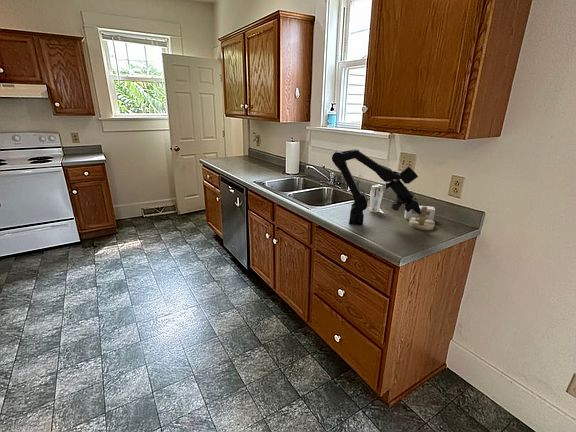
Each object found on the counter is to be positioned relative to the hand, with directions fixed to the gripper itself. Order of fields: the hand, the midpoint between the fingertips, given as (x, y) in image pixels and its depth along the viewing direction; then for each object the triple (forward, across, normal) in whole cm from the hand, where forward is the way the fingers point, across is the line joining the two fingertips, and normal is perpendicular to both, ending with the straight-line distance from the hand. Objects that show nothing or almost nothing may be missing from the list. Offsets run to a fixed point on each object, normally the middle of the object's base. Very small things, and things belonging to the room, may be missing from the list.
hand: (420, 213), depth 153 cm
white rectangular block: (+7, -15, -4) cm, 17 cm away
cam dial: (+7, -5, -4) cm, 10 cm away
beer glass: (-9, -22, -21) cm, 31 cm away
